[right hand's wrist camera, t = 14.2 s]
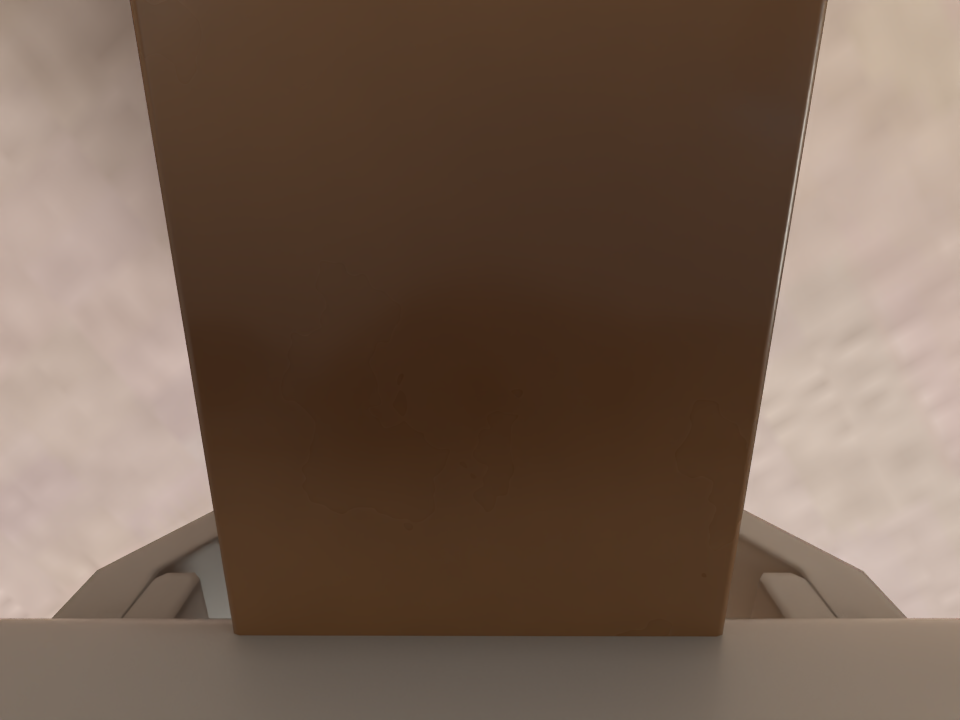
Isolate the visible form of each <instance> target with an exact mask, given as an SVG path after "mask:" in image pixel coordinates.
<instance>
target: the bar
mask: <svg viewBox="0 0 960 720" xmlns="http://www.w3.org/2000/svg"><path fill="white" fill-rule="evenodd" d="M827 1H828V0H130V4H131V10H132V17H133V23H134V29H135V35H136V41H137V47H138V53H139V59H140V65H141V71H142V77H143V83H144V90H145V96H146V102H147V108H148V114H149V120H150V126H151V132H152V138H153V144H154V150H155V156H156V163H157V169H158V175H159V181H160V187H161V193H162V199H163V205H164V211H165V217H166V223H167V229H168V236H169V242H170V248H171V254H172V260H173V266H174V272H175V278H176V284H177V290H178V296H179V302H180V309H181V315H182V321H183V327H184V333H185V339H186V345H187V351H188V357H189V363H190V369H191V375H192V382H193V388H194V394H195V400H196V406H197V412H198V418H199V424H200V430H201V436H202V442H203V448H204V455H205V461H206V467H207V473H208V479H209V485H210V491H211V497H212V503H213V509H214V515H215V521H216V527H217V534H218V540H219V546H220V552H221V558H222V564H223V570H224V576H225V582H226V588H227V594H228V600H229V607H230V613H231V619H232V625H233V631H234V634H237V635H253V636H700V637H717V636H720V635H723V629H724V623H725V617H726V611H727V605H728V599H729V593H730V587H731V581H732V575H733V568H734V562H735V556H736V550H737V544H738V538H739V532H740V526H741V520H742V514H743V508H744V502H745V496H746V490H747V484H748V478H749V472H750V466H751V460H752V454H753V448H754V442H755V436H756V430H757V424H758V418H759V412H760V406H761V400H762V394H763V388H764V381H765V375H766V369H767V363H768V357H769V351H770V345H771V339H772V333H773V327H774V321H775V315H776V309H777V303H778V297H779V291H780V285H781V279H782V273H783V267H784V261H785V255H786V249H787V243H788V237H789V231H790V225H791V219H792V213H793V207H794V200H795V194H796V188H797V182H798V176H799V170H800V164H801V158H802V152H803V146H804V140H805V134H806V128H807V122H808V116H809V110H810V104H811V98H812V92H813V86H814V80H815V74H816V68H817V62H818V56H819V50H820V44H821V38H822V32H823V26H824V19H825V13H826V7H827Z"/></svg>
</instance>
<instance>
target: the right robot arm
mask: <svg viewBox="0 0 960 720" xmlns="http://www.w3.org/2000/svg"><path fill="white" fill-rule="evenodd" d="M0 720H960V618H907V617H906V616H905V615H904V614H903V613H902V612H901V611H900V610H899V609H898V608H897V607H896V606H895V605H894V604H893V603H892V601H891V600H890V599H889V598H888V597H887V596H886V595H885V594H884V593H883V592H882V591H881V590H880V589H879V588H878V586H877V585H876V584H875V583H874V582H873V581H872V580H871V579H870V578H869V577H868V576H867V575H866V574H865V573H864V572H863V571H862V570H860V569H858V568H856V567H854V566H852V565H850V564H848V563H846V562H844V561H842V560H840V559H838V558H836V557H835V556H833V555H831V554H829V553H827V552H825V551H823V550H821V549H819V548H817V547H815V546H813V545H811V544H809V543H807V542H805V541H803V540H802V539H800V538H798V537H796V536H794V535H792V534H790V533H788V532H786V531H784V530H782V529H780V528H778V527H776V526H774V525H772V524H770V523H768V522H767V521H765V520H763V519H761V518H759V517H757V516H755V515H753V514H751V513H749V512H747V511H745V510H743V514H742V520H741V526H740V532H739V538H738V544H737V550H736V556H735V562H734V568H733V575H732V581H731V587H730V593H729V599H728V605H727V611H726V617H725V623H724V629H723V635H720V636H717V637H700V636H253V635H237V634H234V631H233V625H232V619H231V613H230V607H229V600H228V594H227V588H226V582H225V576H224V570H223V564H222V558H221V552H220V546H219V540H218V534H217V527H216V521H215V515H214V511H212V512H210V513H208V514H206V515H204V516H202V517H200V518H198V519H197V520H195V521H193V522H191V523H189V524H187V525H185V526H183V527H181V528H179V529H177V530H175V531H173V532H171V533H169V534H167V535H165V536H163V537H161V538H159V539H157V540H156V541H154V542H152V543H150V544H148V545H146V546H144V547H142V548H140V549H138V550H136V551H134V552H132V553H130V554H128V555H126V556H124V557H122V558H120V559H118V560H116V561H115V562H113V563H111V564H109V565H107V566H105V567H103V568H101V569H99V570H97V571H96V572H95V573H94V574H93V575H92V576H91V577H90V578H89V580H88V581H87V582H86V583H85V584H84V585H83V586H82V587H81V588H80V589H79V590H78V591H77V592H76V593H75V594H74V595H73V596H72V597H71V599H70V600H69V601H68V602H67V603H66V604H65V605H64V606H63V607H62V608H61V609H60V610H59V611H58V612H57V613H56V614H55V615H54V617H53V618H52V619H0Z"/></svg>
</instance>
